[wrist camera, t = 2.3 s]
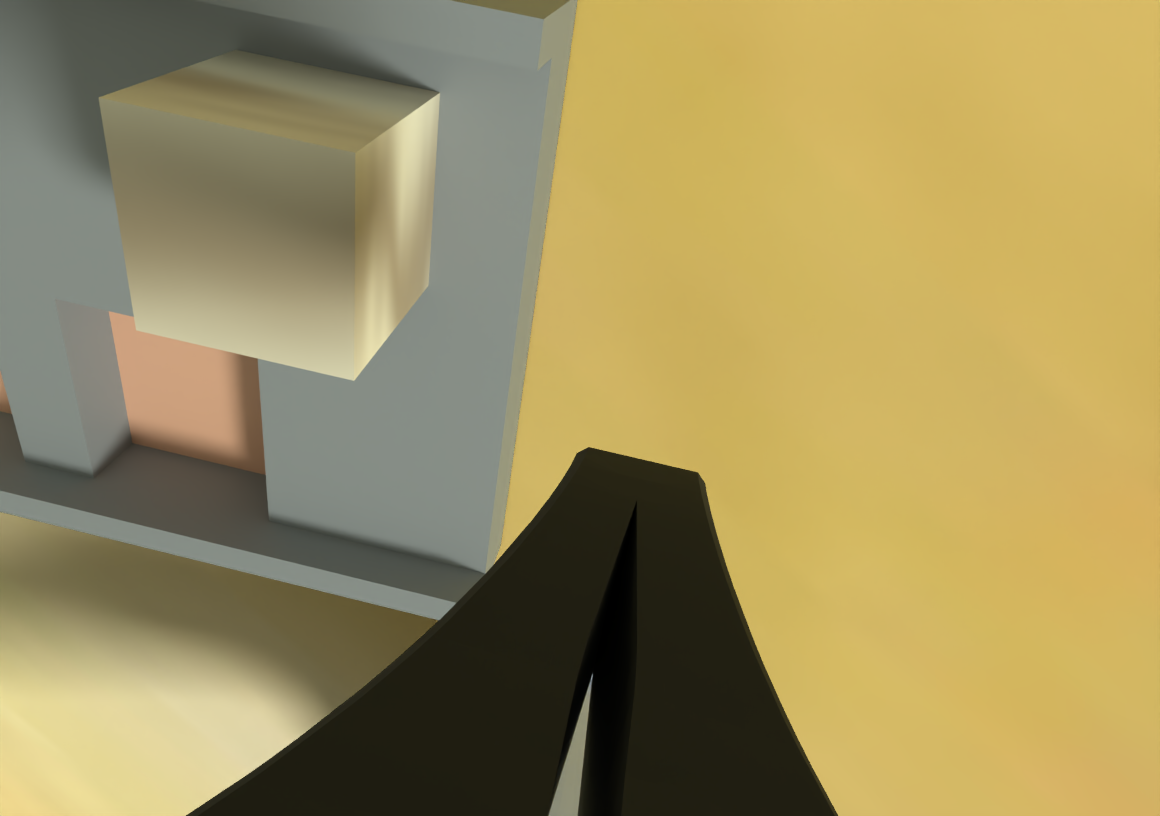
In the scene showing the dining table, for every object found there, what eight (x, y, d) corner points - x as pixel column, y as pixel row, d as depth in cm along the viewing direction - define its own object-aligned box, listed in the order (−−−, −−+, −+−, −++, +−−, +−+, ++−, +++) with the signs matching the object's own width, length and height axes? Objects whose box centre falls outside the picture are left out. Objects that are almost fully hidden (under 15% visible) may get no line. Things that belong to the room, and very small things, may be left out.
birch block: (428, 285, 18) (354, 380, 14) (249, 245, 18) (136, 330, 15) (440, 92, 16) (355, 152, 12) (235, 49, 16) (98, 97, 12)
